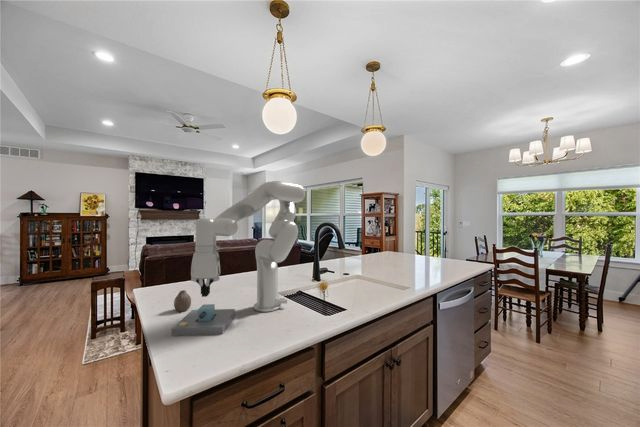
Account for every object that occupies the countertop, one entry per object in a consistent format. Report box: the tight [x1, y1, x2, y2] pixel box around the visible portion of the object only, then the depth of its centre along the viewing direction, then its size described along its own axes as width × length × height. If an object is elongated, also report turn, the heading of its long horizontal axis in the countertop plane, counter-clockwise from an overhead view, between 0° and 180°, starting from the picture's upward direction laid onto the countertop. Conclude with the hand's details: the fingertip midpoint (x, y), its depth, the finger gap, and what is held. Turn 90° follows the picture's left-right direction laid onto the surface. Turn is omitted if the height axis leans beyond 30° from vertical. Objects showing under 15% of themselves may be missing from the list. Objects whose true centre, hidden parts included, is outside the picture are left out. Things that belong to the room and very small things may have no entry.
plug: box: [197, 303, 216, 322], centre depth 103 cm, size 4×8×7 cm, turn 4°
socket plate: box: [171, 308, 236, 336], centre depth 104 cm, size 18×18×3 cm
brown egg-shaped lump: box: [173, 289, 192, 313], centre depth 119 cm, size 7×7×9 cm
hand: (205, 295), depth 104 cm, fingers closed
